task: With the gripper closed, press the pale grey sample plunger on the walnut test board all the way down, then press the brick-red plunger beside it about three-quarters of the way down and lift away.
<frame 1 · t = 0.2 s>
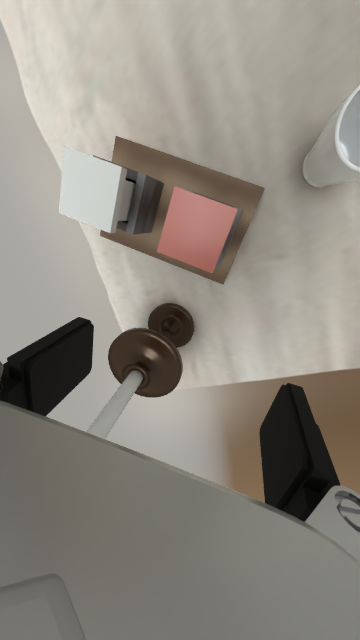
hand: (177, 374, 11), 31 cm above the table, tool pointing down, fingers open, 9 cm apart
grey plunger: (108, 195, 28), point 11 cm above the table, slide at 0.0 cm
candlestick: (171, 324, 46), on the table
test board: (177, 215, 38), on the table
drinking glass: (323, 165, 31), on the table
red plunger: (201, 230, 27), point 11 cm above the table, slide at 0.0 cm
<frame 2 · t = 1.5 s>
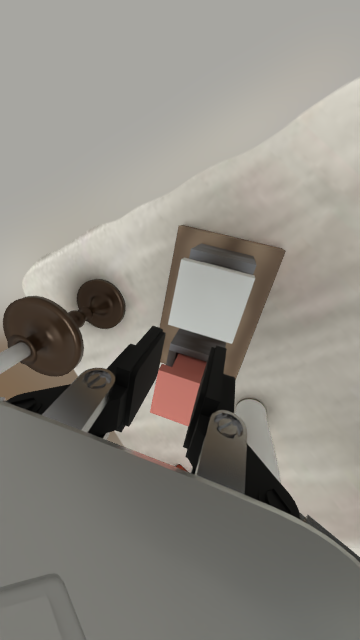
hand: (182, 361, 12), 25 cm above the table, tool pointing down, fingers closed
grey plunger: (213, 291, 25), point 11 cm above the table, slide at 0.0 cm
candlestick: (102, 303, 42), on the table
test board: (211, 307, 37), on the table
drinking glass: (250, 408, 43), on the table
red plunger: (188, 379, 30), point 11 cm above the table, slide at 0.0 cm
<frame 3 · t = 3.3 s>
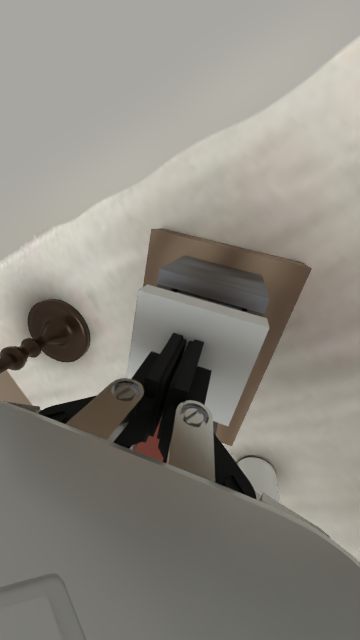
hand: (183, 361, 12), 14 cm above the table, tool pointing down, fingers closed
grey plunger: (199, 331, 16), point 10 cm above the table, slide at 1.5 cm, touching gripper
candlestick: (62, 329, 32), on the table
test board: (202, 340, 27), on the table
drinking glass: (254, 467, 33), on the table
red plunger: (163, 461, 20), point 11 cm above the table, slide at 0.0 cm
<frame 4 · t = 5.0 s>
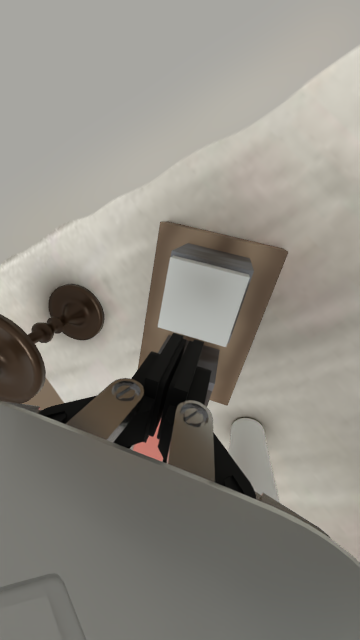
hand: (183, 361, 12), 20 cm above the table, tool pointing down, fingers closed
grey plunger: (205, 291, 23), point 7 cm above the table, slide at 4.0 cm
candlestick: (78, 311, 37), on the table
test board: (201, 316, 32), on the table
drinking glass: (247, 427, 38), on the table
red plunger: (173, 406, 25), point 11 cm above the table, slide at 0.0 cm
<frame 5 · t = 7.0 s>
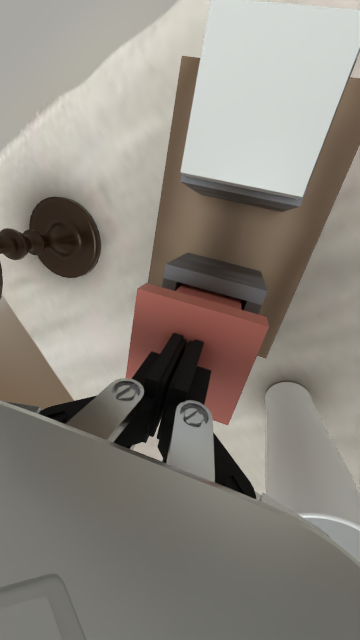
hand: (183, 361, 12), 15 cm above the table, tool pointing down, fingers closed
grey plunger: (256, 135, 14), point 7 cm above the table, slide at 4.0 cm
candlestick: (68, 239, 28), on the table
test board: (232, 232, 23), on the table
drinking glass: (286, 396, 29), on the table
red plunger: (199, 330, 16), point 11 cm above the table, slide at 0.1 cm, touching gripper
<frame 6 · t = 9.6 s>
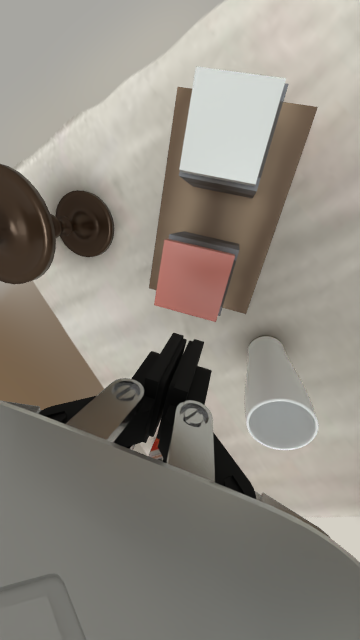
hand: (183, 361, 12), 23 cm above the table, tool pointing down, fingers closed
grey plunger: (229, 144, 21), point 7 cm above the table, slide at 4.0 cm
candlestick: (87, 225, 35), on the table
test board: (218, 216, 30), on the table
drinking glass: (265, 349, 36), on the table
red plunger: (198, 273, 25), point 8 cm above the table, slide at 2.9 cm
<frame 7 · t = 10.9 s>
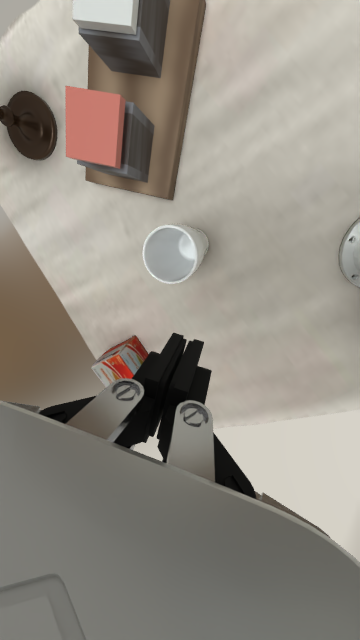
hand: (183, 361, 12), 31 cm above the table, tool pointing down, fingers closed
grey plunger: (123, 9, 25), point 7 cm above the table, slide at 4.0 cm
candlestick: (34, 129, 39), on the table
medicine box: (141, 367, 53), on the table
test board: (142, 108, 34), on the table
drinking glass: (193, 244, 40), on the table
red plunger: (110, 139, 29), point 8 cm above the table, slide at 2.9 cm
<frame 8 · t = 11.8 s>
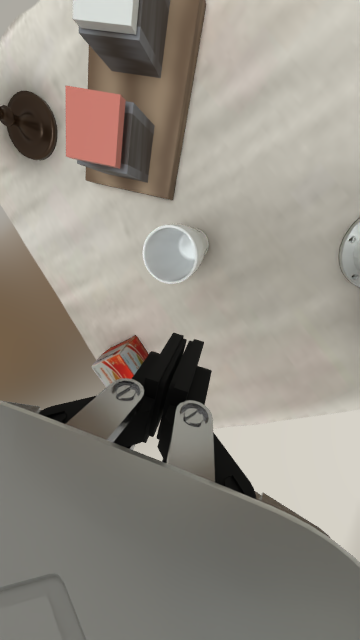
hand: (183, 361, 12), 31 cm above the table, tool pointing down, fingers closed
grey plunger: (123, 9, 25), point 7 cm above the table, slide at 4.0 cm
candlestick: (34, 128, 39), on the table
medicine box: (141, 366, 54), on the table
test board: (142, 108, 34), on the table
drinking glass: (193, 244, 40), on the table
red plunger: (110, 139, 29), point 8 cm above the table, slide at 2.9 cm
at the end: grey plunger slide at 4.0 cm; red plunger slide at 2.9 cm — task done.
